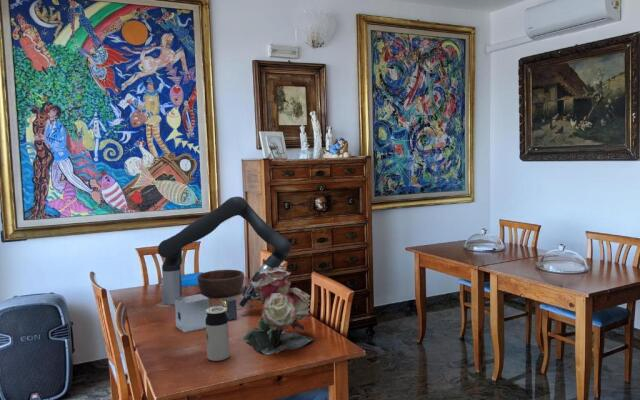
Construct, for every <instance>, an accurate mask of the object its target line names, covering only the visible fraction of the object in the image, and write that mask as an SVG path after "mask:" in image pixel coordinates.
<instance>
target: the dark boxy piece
mask: <svg viewBox="0 0 640 400" xmlns="http://www.w3.org/2000/svg"><path fill="white" fill-rule="evenodd" d="M212 307H225V308H226V309H227V310H226V315H227V317H228V321H231V320H234V319H238V311H237V299H235V298H234V297H232V296H228V297H223V298H222V300H221V302H220V304H218V305H214V306H210V308H212Z"/></svg>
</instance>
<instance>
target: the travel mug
mask: <svg viewBox="0 0 640 400" xmlns="http://www.w3.org/2000/svg"><path fill="white" fill-rule="evenodd" d="M211 307H212V306H211ZM226 310H227V309H226V308H225V307H212V308H208V309H207V310H206V313H207V317H206V319H205V320H206V328H205V334H206V335H205V337H206V356H207V359H208V360H210V361H212V362H213V361H214V362H218V361H219V362H221V361H224V360H226V359H228V358H229V357H230V339H229V320H228V317H227V315H226Z"/></svg>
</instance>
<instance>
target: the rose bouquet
mask: <svg viewBox="0 0 640 400" xmlns="http://www.w3.org/2000/svg"><path fill="white" fill-rule="evenodd" d="M270 271H271V272H270ZM256 272H257V271H256ZM257 273H258V274H259V276H260V277H261V279H259V281H252V280H251V281H250V284H252V286H253V287H254V289H255V291H256V292H257V294H258V295H259V296H258V297H254V298H251V299H253V300H256V301H261V303H260V305H263V307H262V311H261V312H260V313H261V318H260V319H258V317H257V318H255V319H256V320H257V319H258V320H257V322H258V325H257V326H258V327H257V326H256V327H254V328H252V329H249V330H248V331H247V333H246V334H245V335H244V337H243V338H242V340H243V341H244V342H245V341H246V342H245V343H246V344H247V345H249V346H250V347H253V348H254V350H256V351H257V352H259V353H262V354H263V355H266V356H269V355H272V354H275V353H276V355H279V353H280V352H282V351H285V350H296V349H300V348H302V347H304V346H305V345H307V344H308V343H310V342H313V341H315V339H314V338H313V337H311V336H306V335H302V334H299V333H297V332H296V329H295V328H297V329H299V330H300V331H301V332H302V333H305V332H306V331H305V326H304V325H303V324H301V322H299V321H301V320H305V319H306V318H307V317H310V316H311V315H310V313H309V312H310V311H311V310H312V309H311V308H309V306H310V305H311V303H310V302H311V300H310V298H311V295H309V294H308V293H307V292H305V291H302V289H300V288H298V287H291V284H292V282H291V280H290V281H288V280H289V277H290V276H291V271H287V268H286V267H285V266H284V265H282V264H281V265H280V266H279V267H275V268H269V269H266V270H265V271H263V272H257ZM254 306H255V305H254V304H250V305H248V307H249V308H254ZM290 328H292V329H293V332H285V331H284V330H289V329H290ZM279 341H280V342H282V343H281V344H280V342H279Z"/></svg>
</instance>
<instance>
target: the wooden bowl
mask: <svg viewBox="0 0 640 400" xmlns="http://www.w3.org/2000/svg"><path fill="white" fill-rule="evenodd" d="M197 279H198V284H199V285H198V288H199V290H200V292H201V294H202V295H204V296H205V297H207V298H227V297H232V296H235V295H237V294H239V293H240V292H241V290H242V289H243V286H244V280H245V274H244V271H242V270H238V269H237V270H236V269H218V270H210V271H205V272H203V273H202V274H200V275H198V277H197Z"/></svg>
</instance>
